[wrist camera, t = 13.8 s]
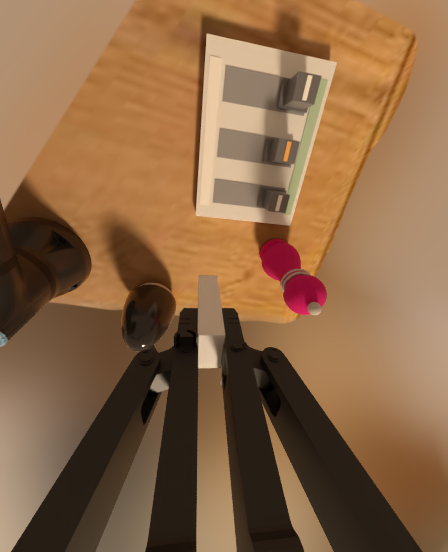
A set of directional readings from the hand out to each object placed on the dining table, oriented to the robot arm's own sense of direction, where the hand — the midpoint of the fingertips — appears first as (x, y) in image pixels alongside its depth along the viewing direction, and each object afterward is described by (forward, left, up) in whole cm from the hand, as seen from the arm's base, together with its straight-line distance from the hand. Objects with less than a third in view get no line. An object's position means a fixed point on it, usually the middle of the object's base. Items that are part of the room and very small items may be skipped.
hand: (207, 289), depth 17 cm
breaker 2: (+11, +19, -24) cm, 32 cm away
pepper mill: (+15, -6, -26) cm, 31 cm away
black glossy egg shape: (-10, -19, -26) cm, 34 cm away
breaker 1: (+11, +5, -24) cm, 26 cm away
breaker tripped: (+11, +12, -24) cm, 28 cm away
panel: (+7, +12, -26) cm, 29 cm away
